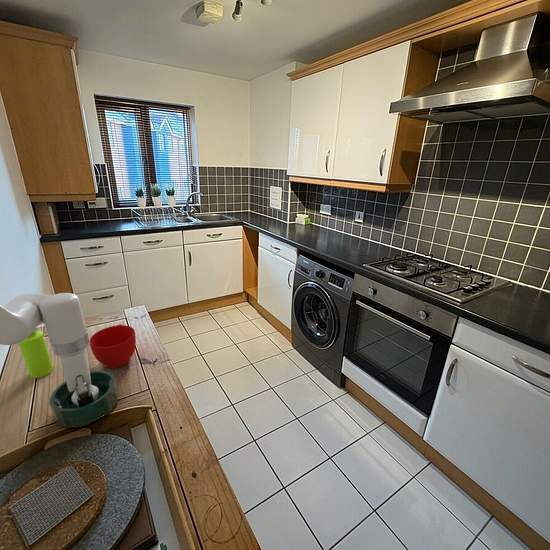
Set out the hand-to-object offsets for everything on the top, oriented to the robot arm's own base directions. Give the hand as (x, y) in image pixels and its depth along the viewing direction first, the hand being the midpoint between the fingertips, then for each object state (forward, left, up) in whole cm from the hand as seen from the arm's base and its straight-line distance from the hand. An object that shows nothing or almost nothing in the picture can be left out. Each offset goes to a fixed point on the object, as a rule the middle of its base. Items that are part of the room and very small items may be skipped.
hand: (85, 397), depth 77 cm
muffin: (0, 0, -3) cm, 3 cm away
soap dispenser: (-10, +25, -4) cm, 27 cm away
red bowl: (+11, +18, -4) cm, 21 cm away
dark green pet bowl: (0, 0, -3) cm, 3 cm away
